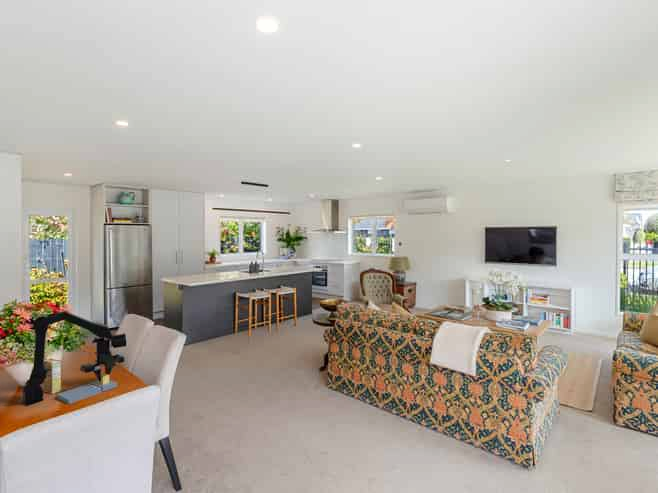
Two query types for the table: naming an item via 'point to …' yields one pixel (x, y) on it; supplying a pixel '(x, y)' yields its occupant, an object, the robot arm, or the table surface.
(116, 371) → the table surface
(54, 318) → the robot arm
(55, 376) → the candy box
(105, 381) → the stub
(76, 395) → the blue-grey flat slab
